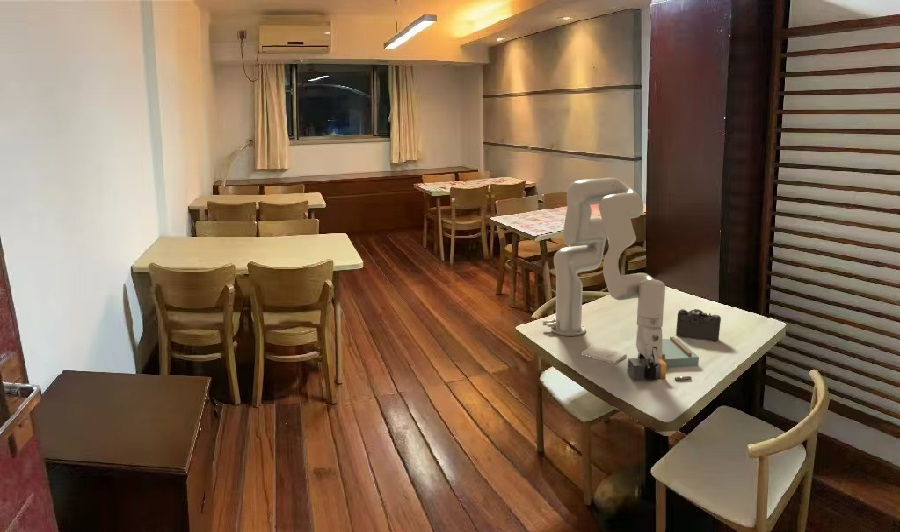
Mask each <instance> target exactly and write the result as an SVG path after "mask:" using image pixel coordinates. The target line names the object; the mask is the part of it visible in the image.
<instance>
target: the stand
mask: <svg viewBox="0 0 900 532" xmlns="http://www.w3.org/2000/svg"><path fill="white" fill-rule="evenodd" d="M662 342H663V343H662V358H661V359H662V360H663V361H664V362H665V363H666V364H667V365H666V369H669V368H668V367H670V368H682V367H683V368H686V367H699V361H700V356H698V355H697V354H696V353H695V352H694V351H693V350H692V349H691V348H689V347H688V346H687V345H686V344H685V343H684V342H683V341H682V340H681V339H679V338H677V337H676V336H670V337H669V338H662ZM649 357H653V356H649Z"/></svg>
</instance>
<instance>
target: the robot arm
mask: <svg viewBox="0 0 900 532" xmlns="http://www.w3.org/2000/svg"><path fill="white" fill-rule="evenodd" d="M593 205H598V211H599V215H600V217H598V216H597V217H596V216H595V217H592V214H593V213H592V212H593V211H592V210H593V209H592V206H593ZM643 212H644V202H643V200H642V198H641V196H640V194H639V193H637V192H636V191H635V190H634V189H633V188H632V187H631V186H629V185H627V183H625V182H623V181H622V180H621V179H620V178H616V177H602V178H589V179H580V180H575V181H573V182H571V184H570V185H569V186H568V188H567V192H566V212H565V217H564V222H563V223H564V224H563V230H562V241H563V243H564V244H565V245H566V246H568V247H563V248H560V249H558V250H557V251H556V252H555V253H554V255H553V265H554V271H555V316H553V318H552V319H549V320H548V319H543V320H542V321H541V323H542V326H547V327H548V328H550V330H551V332H553V333H554V334H557V335H559V336H565V337H574V336H575V337H576V336H581V335H583V334H585V333H586V329H587V328H586V326H585V325H584V324H582V322H583V321H582V318H583V317H582V316H583V315H582V314H583V312H582V311H583V290H584V289H583V288H584V286H583V282H582V280H581V279H580V277H579V275H578V273H582V272H588V271H589V272H590V271H594V270H596V269H598V268H599V267H600V265H601V263H602V261H603V256H604V261H603V265H602V267H603V268H602V271H603V272H602V273H603V277H604V281H605V284H606V287H607V291H608V293H609V295H610V296H611V298H612V299H614V300H616V301H625V300H631V299H637V312H636V325H637V329H636V337H635V339H636V341H635V347H636V349H637V358H646V362H647V367H646V368H645V379H646V380H645V381H655V379H656V368H657V365H658V364H659V359H661V358H662V343H663V342H662V339H663V328H662V327H663V323H664V310H665V309H664V308H665V296H666V295H665V294H666V285H665V283H664V282H663V281H661V280H659V279H656V278H654V277H652V276H651V275H649V274H648V273H646V272H637V273H630V274H624V275H621V271H620V267H619V260H620V256H621V254H622V253H623V252H624V250H626V249H627V248H628V247H630V246H632V245H633V244H635V242H636V240H637V236H636V234H635V233H636V232H635V230H634V227H633V223H632V220H631V219H635V218H636V219H637V218H639V217H640V216H641V215H642V213H643ZM606 242H608V249H607V251H606V252H605V255H604V251H605V247H606ZM649 356H653V358H649ZM658 358H659V359H658ZM649 360H653V362H651V363H650V361H649Z"/></svg>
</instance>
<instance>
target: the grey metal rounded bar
mask: <svg viewBox="0 0 900 532" xmlns="http://www.w3.org/2000/svg"><path fill="white" fill-rule="evenodd" d="M692 378H693V377H692V376H690V375H688V376H675V377H674V381H677V382H679V381H680V382H681V381H683V380H684V381H691V380H692ZM684 381H683V382H684Z"/></svg>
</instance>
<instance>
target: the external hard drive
mask: <svg viewBox="0 0 900 532" xmlns="http://www.w3.org/2000/svg"><path fill="white" fill-rule="evenodd" d="M581 354H583V355H582V356H584V355H587V356H586V357H588V356H590V357H589V358H591V357H594V358H593V359H595V358H596V359H595V360H598V359H599V361H602V360H603V362H605V361H606V363H609V362H610V364H613V363H614V364H613V365H616V364H618V363H619V362H620V361H621V360H623V359H625V358H626V357H627V353H624V352H620V351H617V350H614V349H609V348H606V347H602V346H598V345H595V344H591V345H590V346H589V347H587V348H585V349H584V350H583V351H581V353H580V355H581ZM624 357H625V358H624ZM618 361H619V362H618ZM615 363H616V364H615Z"/></svg>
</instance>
